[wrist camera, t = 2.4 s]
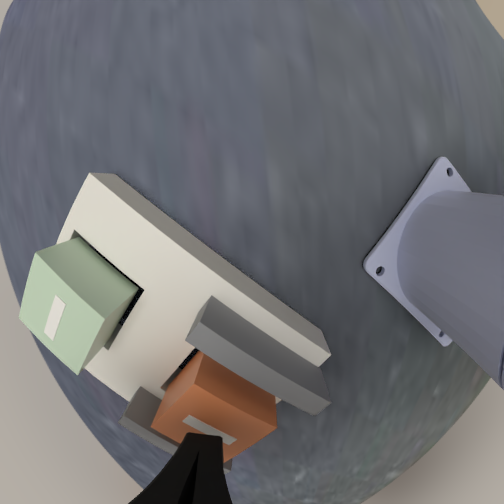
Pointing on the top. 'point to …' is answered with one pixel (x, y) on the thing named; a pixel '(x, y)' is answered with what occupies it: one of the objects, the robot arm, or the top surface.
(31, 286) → the on button
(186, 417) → the button
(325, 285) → the top surface
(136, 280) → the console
